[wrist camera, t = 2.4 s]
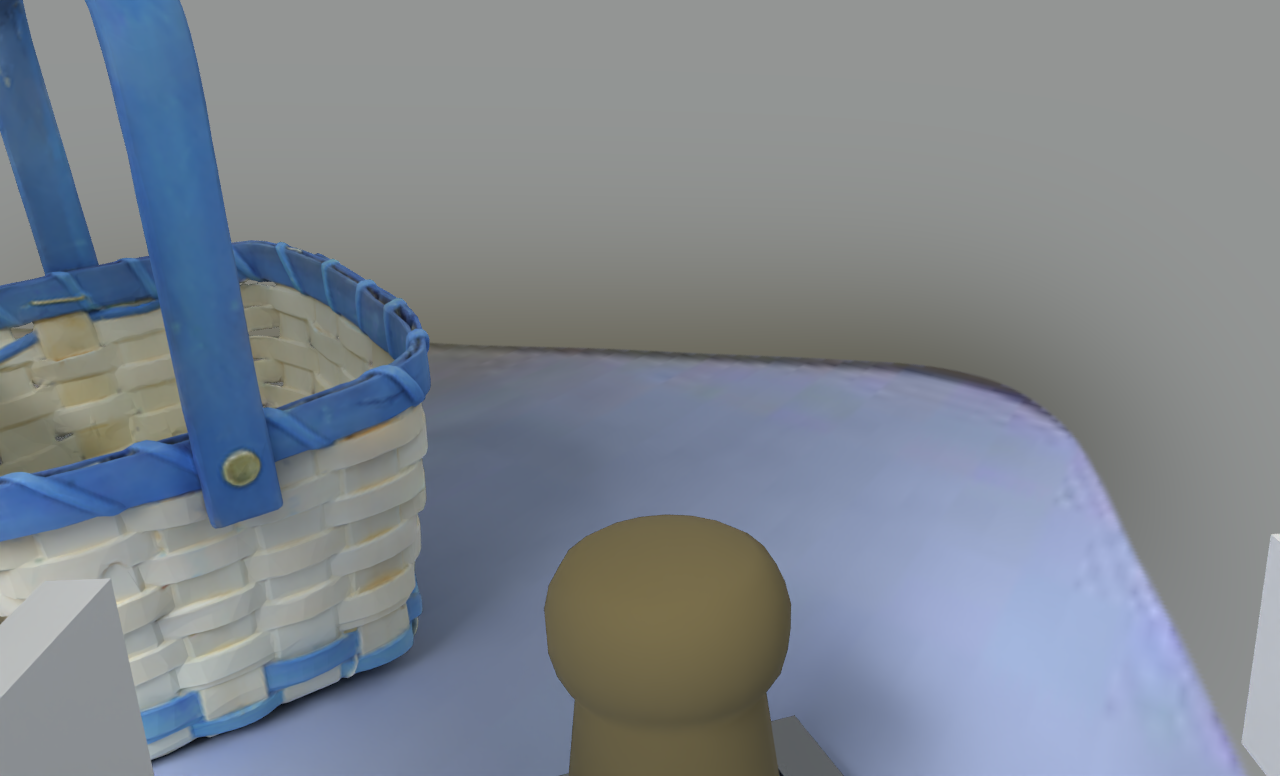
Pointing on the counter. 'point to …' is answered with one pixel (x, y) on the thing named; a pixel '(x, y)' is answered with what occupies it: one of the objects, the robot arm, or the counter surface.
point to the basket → (201, 412)
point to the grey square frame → (798, 751)
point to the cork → (669, 648)
